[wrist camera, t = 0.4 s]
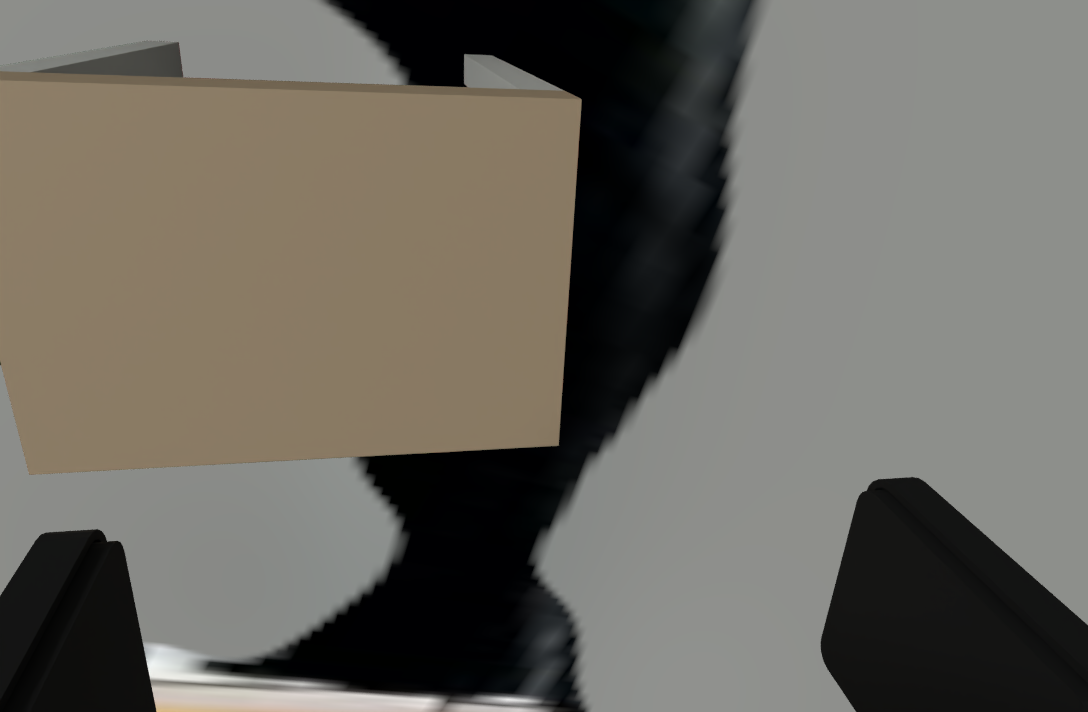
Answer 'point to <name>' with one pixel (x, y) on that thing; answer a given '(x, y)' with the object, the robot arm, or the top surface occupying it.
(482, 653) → the top surface
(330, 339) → the tan rectangular box
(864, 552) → the robot arm
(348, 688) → the top surface
